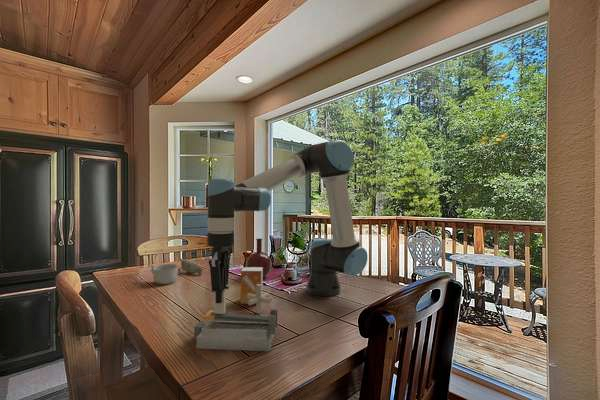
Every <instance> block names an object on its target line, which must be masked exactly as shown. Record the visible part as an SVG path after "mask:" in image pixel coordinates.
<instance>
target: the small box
mask: <svg viewBox="0 0 600 400" xmlns="http://www.w3.org/2000/svg"><path fill="white" fill-rule="evenodd" d="M263 278H264V277H263V267H246V266H245V267H242V268H241V270H240V304H241V305H247V304H248V300H250V299H248V298H247V294H248V293H250V294H254V295H256V285H257V284H261V285H262V289H263V286H264V285H263V284H264V281H263ZM262 294H263V290H262V291H261V295H262ZM254 305H256V303H255V304H254Z"/></svg>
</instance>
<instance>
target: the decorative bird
mask: <svg viewBox="0 0 600 400" xmlns="http://www.w3.org/2000/svg"><path fill="white" fill-rule="evenodd" d="M178 261H180V262H181V263H180V264H181V265H180V268H179V267H177V273H180V272H186V273H188V274H196V273H197V274H198V275H200V276H202V274H203V266H202V265H201V264H200V263H197V262H194V261H190V260H187V259H185V258H178Z"/></svg>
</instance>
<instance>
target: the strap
mask: <svg viewBox="0 0 600 400" xmlns="http://www.w3.org/2000/svg"><path fill="white" fill-rule="evenodd" d="M215 318H217V319H229V320H242V321H255V322H268V315H262V316H259V314H257V315H256V314H243V313H242V314H241V313H232V312H231V313H230V312H225V313H224V314H215V309H214V310H213V309H209V311H207V313H206V314H204V316H203V320H204V321H205V320H206V321H209V320H214V319H215Z"/></svg>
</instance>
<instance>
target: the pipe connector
mask: <svg viewBox="0 0 600 400" xmlns="http://www.w3.org/2000/svg"><path fill="white" fill-rule="evenodd" d="M261 291H262V292H263V288H262V285H261V284H257V285H256V295H254V294H250V293H248V294H247V298H248V299H250V300H248V306H253V305H256V307H255V313H256V314H257V315H259V314H261V313H262V303H265V304H271V303H272V298H271V297H270V293H269V292H268V291H267V292H265V293H262V295H261ZM269 297H270V298H269ZM255 303H256V304H255Z"/></svg>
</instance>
